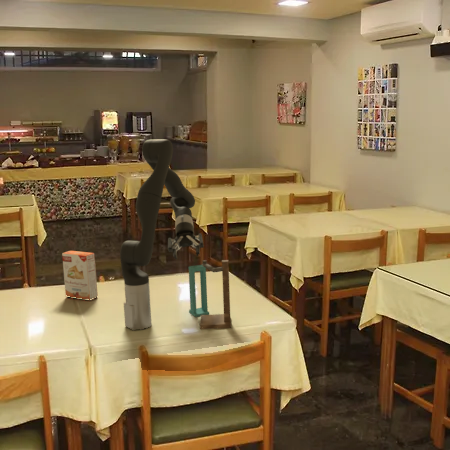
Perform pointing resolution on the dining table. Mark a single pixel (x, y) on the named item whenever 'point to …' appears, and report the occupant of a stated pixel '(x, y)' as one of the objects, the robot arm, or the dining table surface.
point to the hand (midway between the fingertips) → (186, 255)
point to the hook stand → (223, 319)
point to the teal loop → (193, 309)
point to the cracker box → (80, 274)
